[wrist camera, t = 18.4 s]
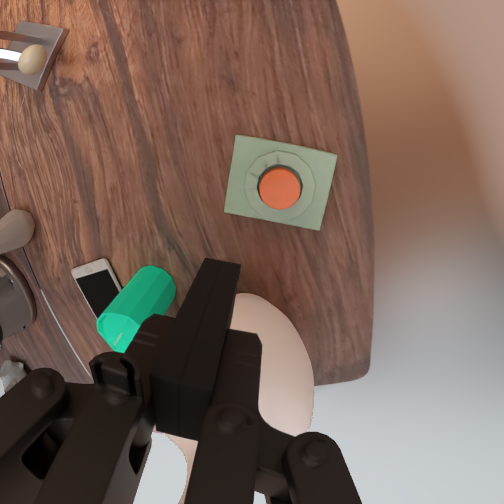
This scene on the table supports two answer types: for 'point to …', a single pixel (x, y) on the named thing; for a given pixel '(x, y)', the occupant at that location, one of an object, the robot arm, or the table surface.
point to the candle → (136, 306)
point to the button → (279, 188)
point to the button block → (272, 156)
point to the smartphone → (97, 284)
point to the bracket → (26, 37)
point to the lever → (27, 58)
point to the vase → (271, 372)
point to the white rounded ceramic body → (11, 373)
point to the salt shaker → (15, 230)
